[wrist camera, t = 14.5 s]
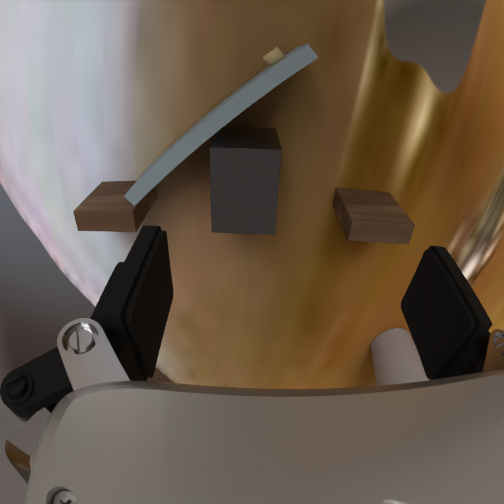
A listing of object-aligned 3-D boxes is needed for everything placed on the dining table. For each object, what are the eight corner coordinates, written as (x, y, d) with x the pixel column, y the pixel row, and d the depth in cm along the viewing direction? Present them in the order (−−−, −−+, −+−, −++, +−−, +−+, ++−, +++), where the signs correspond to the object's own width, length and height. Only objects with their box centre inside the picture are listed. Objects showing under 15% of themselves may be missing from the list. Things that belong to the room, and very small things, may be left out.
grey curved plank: (139, 162, 28) (115, 187, 23) (289, 38, 22) (298, 32, 17) (154, 178, 29) (134, 206, 24) (305, 57, 23) (318, 57, 18)
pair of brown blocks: (102, 182, 30) (73, 211, 25) (389, 193, 30) (414, 225, 25) (104, 198, 31) (78, 230, 26) (385, 210, 31) (408, 244, 26)
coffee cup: (372, 366, 48) (390, 445, 36) (352, 340, 44) (372, 431, 31) (423, 342, 45) (451, 420, 32) (410, 311, 40) (445, 400, 28)
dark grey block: (220, 126, 27) (209, 147, 21) (275, 128, 27) (281, 150, 21) (220, 195, 31) (211, 232, 25) (271, 197, 31) (274, 234, 25)
